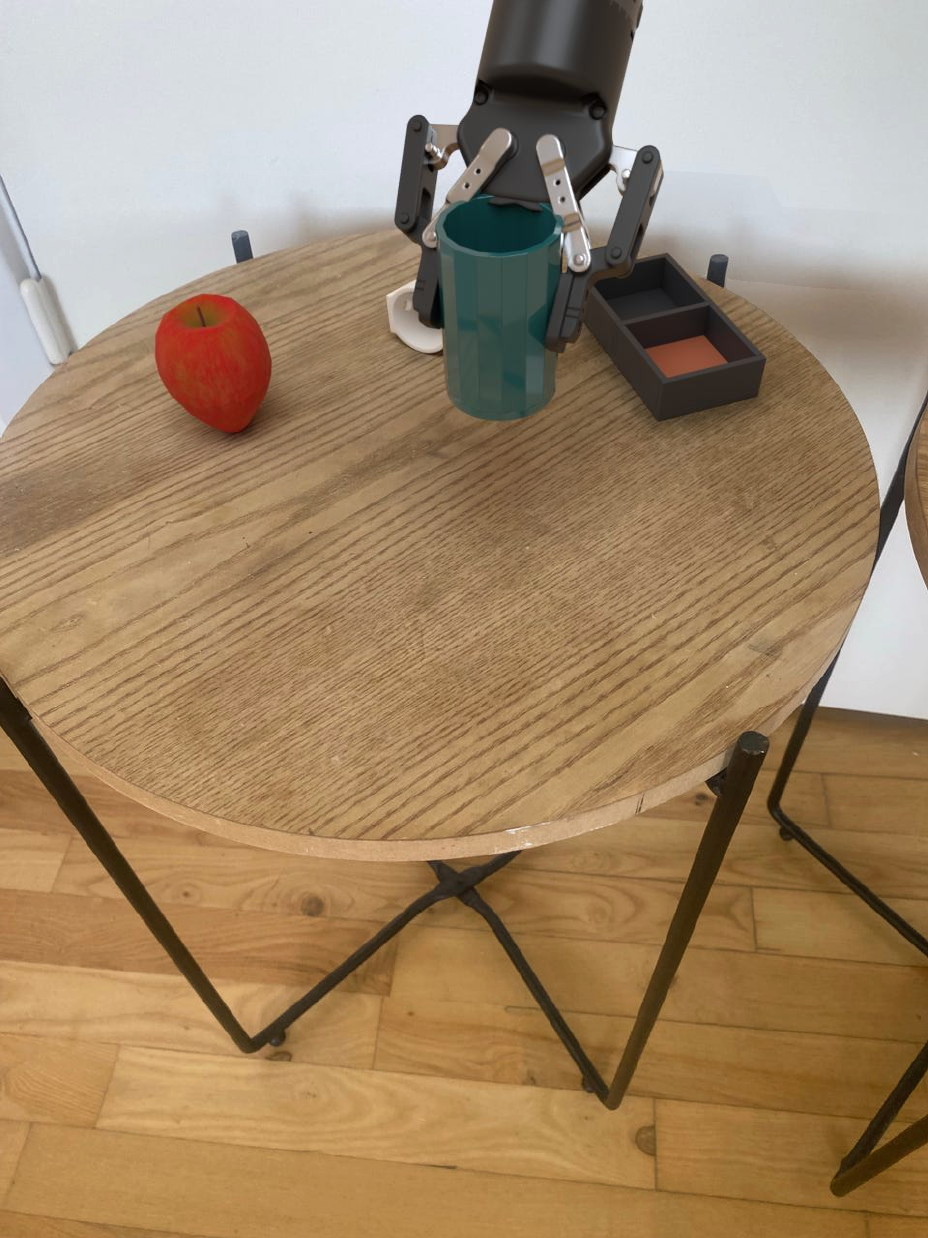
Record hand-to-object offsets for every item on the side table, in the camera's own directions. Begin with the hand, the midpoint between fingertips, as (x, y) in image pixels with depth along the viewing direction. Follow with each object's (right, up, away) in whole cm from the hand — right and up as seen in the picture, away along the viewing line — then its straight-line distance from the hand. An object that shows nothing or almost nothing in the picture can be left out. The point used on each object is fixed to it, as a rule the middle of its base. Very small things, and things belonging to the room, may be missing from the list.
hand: (491, 336), depth 51 cm
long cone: (0, +14, +36) cm, 39 cm away
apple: (-20, 0, +25) cm, 32 cm away
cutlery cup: (+1, -2, +4) cm, 5 cm away
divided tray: (+15, +8, +30) cm, 34 cm away
